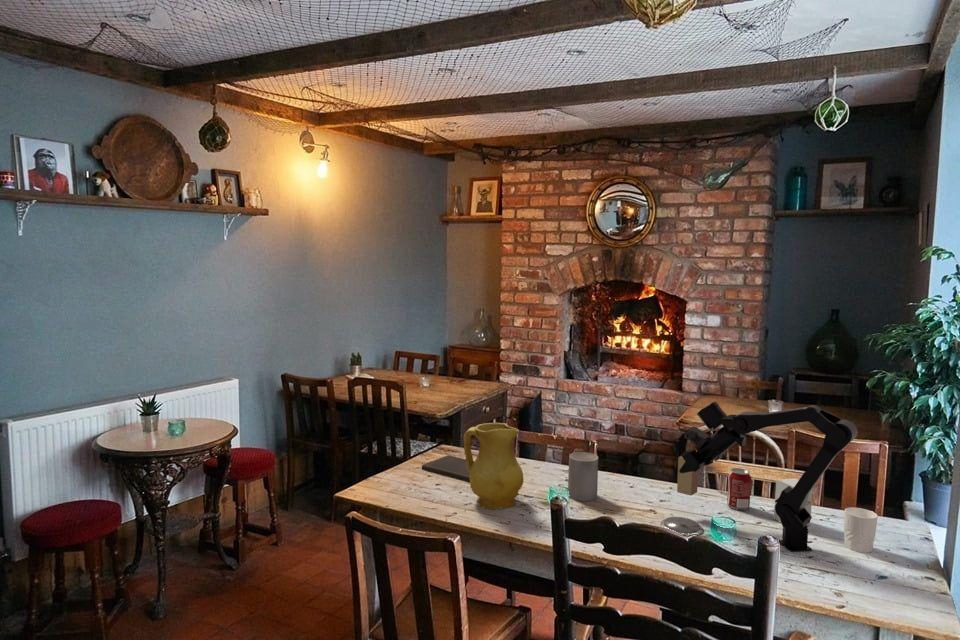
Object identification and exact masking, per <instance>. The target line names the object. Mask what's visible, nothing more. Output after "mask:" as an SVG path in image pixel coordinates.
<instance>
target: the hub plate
mask: <svg viewBox="0 0 960 640" xmlns="http://www.w3.org/2000/svg"><path fill="white" fill-rule="evenodd" d="M660 524H661V525H660ZM660 524H659V525H660V527H661V526H662V525H663V527H665V528H668V529H671V530H674V531H676V532H678V533H680V534H682V533H684V534H682V535H685V537H687V536H686V535H688V533H689V534H692V533H698V534H700V535H702V534H703V532H704V528H703V526H702V525H701V524H700V523H699V522H697V521H696V520H693V519H691V518H688V517H682V516H671V517H667V518H665V519H662V520H661V521H660ZM698 534H692V535H696V536H699V535H698ZM682 535H681V536H682Z"/></svg>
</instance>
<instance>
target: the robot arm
mask: <svg viewBox="0 0 960 640" xmlns="http://www.w3.org/2000/svg"><path fill="white" fill-rule="evenodd" d="M696 415H697V416H698V417H699V419H700V420H701V421H702V422H703V424H704V425H705V426H706V428H708V430H714V431H716V430H717V429H718V430H717V431H716V432H714V433H713V434H711V435H710V436H709V435H708V434H707V433H706V432H705V431H703V430H702V429H700V428H698V427H696V426H695V425H693V426H691V427H688V429H686V431H685V432H684V436H683V437H684V438H685V439H686V440H687V441H689V442H692V443H693V444H695V446H694V448H696V450H695V449H692V448H690V449H687V450H685V451H684V452H683V453H682V454H681V456H682V457H683V459H684V460H685V463H684V464H683V466H682V467H681V469H680V470H679V471H680V473H687V472H691V471H694V472H696V471H698V472H699V471H700V470H702V469H703V468H704V467H706V466H709V465H711V464H713V463H714V461H715V462H717V461H719V460H720V459H722V458H723V457H724V453H726V452H727V451H728V450H729V449H730V448H732V446H734V445H735V444H737V445H738V446H740V448H741V447H743V446H746V445H747V436H746V435H747V434H749V433H754V432H756V431H758V430H762V429H766V428H768V427H776V426H777V427H778V426H784V425H790V424H797V423H798V424H799V423H805V422H808V423H810V424H812V425H813V427H815V428H816V429H817V430H819V432H821V433H822V434H824V435H825V436H824V438H823V441H822V445H821V448H820V449H819V451H817V453H816V455H815V457H814V458H813V460H812V461H811V463H810V464H809V465H808V467H807V468H806V470H805V471H804V472H803V474H802V475H801V477H800V478H799V479H798V480H799V481H798V482H797V484H796V485H795V487H794V488H793V489H792V488H791V487H790V486H788V487H786V488H785V489H784V490H783V491H782V492H781V494H780V497H779V498H778V499H777V500H775V499H774V503H775V502H777V503H776V505H775V504H774V507H775V511H776V514H777V515H778V516H779V517H780V520H781V522H780V523H781V526H782V537H781V538H782V539H778V540H779V542H780V543H779V545H781V546H783V547H784V548H785V549H787V550H788V551H790V552H811V551H813V548H811V547H810V546H809V545H808V538H809V528H808V526H807V524H808V523H809V522H810V523H811V521H812V518H813V517H812V515H810V514H809V513H808V511H807V510H806V509H805V508H804V507H805V505H806V502H807V499H808V496H809V493H810V491H811V490H812V489H813V490H814V487H815V486H816V485H817V483H818V482H819V480H820V479H821V477H822V476H823V475H824V474H825V472H826V470H827V469H828V468H829V467H830V465H831V463H832V462H833V461H834V459H835V458H836V456H837V455H838V454H839V453H840V452H842V451H843V450H844V449H845V448H846V447H847V446H849V444H850V443H851V442H852V441H854V440H855V438H857V436H858V433H859V432H858V429H857V426H856V424H855V423H853V422H852V421H850V420H848V419H842V418H840V417H839V416H837V415H835V414H833V413H831V412H828V411H826V410H824V409H822V408H821V407H820V406H818V405H816V404H815V405H814V404H811V405H808V406H804V407H797V408H790V409H789V408H788V409H784V410H783V409H782V410H777V411H771V412H769V411H768V412H762V411H744V412H741V413H739V414H729V415H727V414H726V413H725V411H724V410H723V409H722V408H721V407H720V405H719V403H718V402H717V401H713V402H711V403H710V404H709V405H706V406H705V407H703V408H701V409H700V410H699V411H698V412H697V413H696Z"/></svg>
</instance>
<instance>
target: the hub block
mask: <svg viewBox="0 0 960 640" xmlns="http://www.w3.org/2000/svg"><path fill="white" fill-rule="evenodd" d="M677 458H678V459H677V481H676V483H677V485H676V486H677V487H676V492H677V493H679V494H683V495H688V496H693V495H695V494H697V492H698V483H699V482H698V481H699V480H698V479H699V478H698V477H699V470H698V471H696V472H694V471H691V472H687V473H680V471H679V470H680V469H681V467H682V466H683V464H684V463H685V460H684V459H683V457H682V455H680V456H678V457H677Z"/></svg>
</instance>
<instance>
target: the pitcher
mask: <svg viewBox="0 0 960 640" xmlns="http://www.w3.org/2000/svg"><path fill="white" fill-rule="evenodd" d="M519 434H520V430H519V429H518V428H516V427H512V426H510V425H508V423H504V422H503V423H501V422H487V423H486V422H485V423H481V424H480V423H479V424H478V425H476V426H471V427H470V428H468V430H466V431H465V432H464V434H463V444H464V445H463V448H464V455H465V459H466V462H467V470H468V472H469V479H470V482H469V485H470V488H471V492H473V494H474V495H475V496H477V497H478V498H477V499H476V504H477V505H478V506H480V507H481V508H485V509H490V510H498V509H499V510H500V509H507V508H509V509H510V508H512V507H515V505H516V504H517V503H516V501H515V498H517V497H518V496H520V494H519V491H520V490H521V488H522V487H523V485H524V473H523V469H522V467H521V465H520V463H519V462H518V460H517V457H516V455H515V448H514V446H515V445H514V444H515V438H516V437H517V436H518V435H519ZM471 436H476V439H477V440H478V442H479V449H478V453H477V456H476V458H475V462H474V457H473V453H472V449H471Z"/></svg>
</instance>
